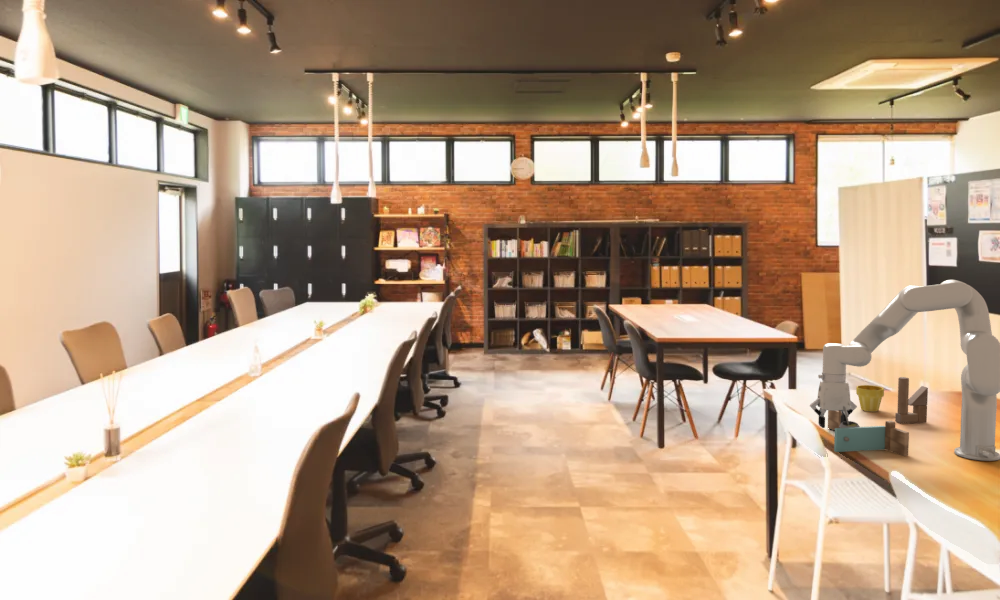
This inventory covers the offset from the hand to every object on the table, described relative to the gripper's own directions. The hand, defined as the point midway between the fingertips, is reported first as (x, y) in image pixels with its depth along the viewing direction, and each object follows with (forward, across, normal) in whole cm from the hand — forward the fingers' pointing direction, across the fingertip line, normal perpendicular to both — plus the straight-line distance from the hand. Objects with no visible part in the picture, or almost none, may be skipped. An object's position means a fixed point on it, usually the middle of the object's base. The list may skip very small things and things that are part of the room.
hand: (832, 426), depth 246 cm
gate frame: (+6, +12, +2) cm, 14 cm away
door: (+6, +6, -9) cm, 12 cm away
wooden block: (+6, +41, +29) cm, 50 cm away
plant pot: (+6, +34, +49) cm, 60 cm away
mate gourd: (+6, +4, -4) cm, 8 cm away
